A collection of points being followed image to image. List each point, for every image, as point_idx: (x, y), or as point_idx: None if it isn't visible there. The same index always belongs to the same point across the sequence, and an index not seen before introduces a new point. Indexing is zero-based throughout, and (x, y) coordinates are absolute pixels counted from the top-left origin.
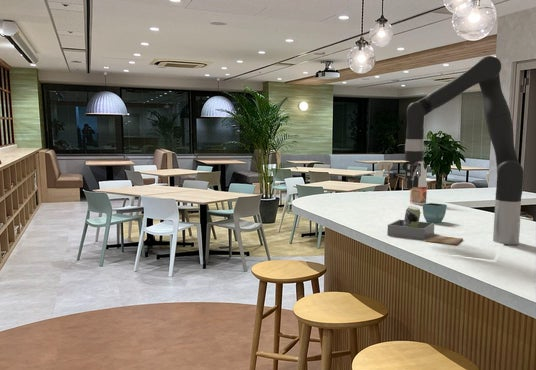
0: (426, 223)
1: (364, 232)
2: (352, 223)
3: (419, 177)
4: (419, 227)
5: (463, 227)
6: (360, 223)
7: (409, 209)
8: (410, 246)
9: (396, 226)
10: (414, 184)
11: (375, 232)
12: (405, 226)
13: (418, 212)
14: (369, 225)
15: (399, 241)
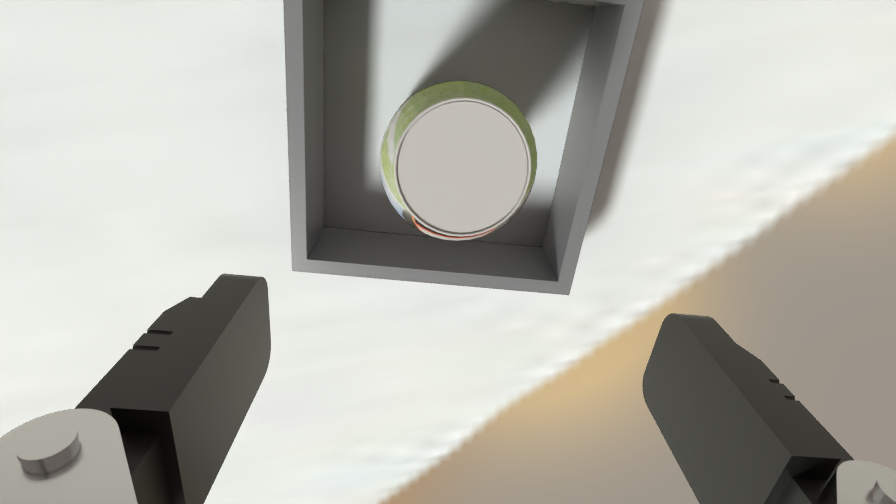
0: (304, 25)
1: (523, 381)
2: (297, 485)
3: (49, 426)
4: (316, 87)
5: None
6: (268, 456)
7: (517, 203)
8: (870, 52)
9: (582, 232)
10: (251, 371)
11: (494, 334)
12: (587, 168)
13: (503, 98)
14: (296, 407)
15: (723, 152)
